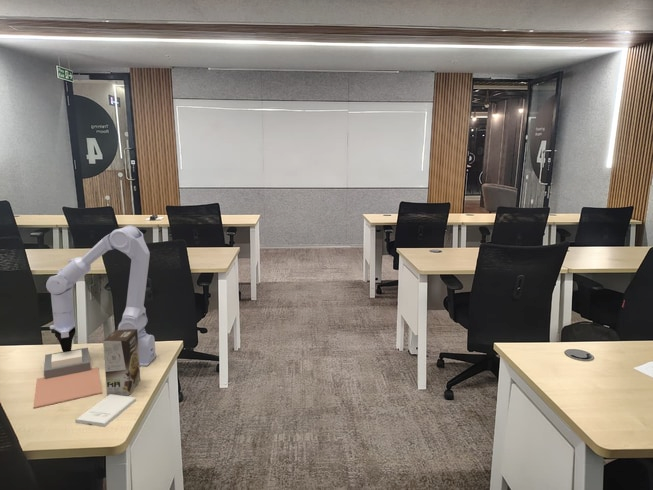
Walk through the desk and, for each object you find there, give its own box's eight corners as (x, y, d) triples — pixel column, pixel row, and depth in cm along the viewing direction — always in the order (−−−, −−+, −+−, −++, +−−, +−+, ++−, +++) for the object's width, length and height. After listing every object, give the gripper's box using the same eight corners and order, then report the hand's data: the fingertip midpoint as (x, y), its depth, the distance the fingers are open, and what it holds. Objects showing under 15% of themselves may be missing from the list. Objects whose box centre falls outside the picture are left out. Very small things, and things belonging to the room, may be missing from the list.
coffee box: (130, 395, 120) (126, 340, 118) (106, 396, 120) (101, 340, 117) (141, 380, 129) (138, 328, 127) (119, 380, 129) (115, 328, 126)
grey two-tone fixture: (46, 363, 139) (45, 354, 139) (88, 355, 145) (88, 347, 145) (44, 380, 128) (43, 370, 128) (90, 371, 134) (90, 362, 134)
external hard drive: (136, 402, 118) (104, 428, 106) (109, 399, 120) (75, 424, 108) (135, 397, 118) (104, 422, 106) (109, 393, 119) (74, 418, 107)
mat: (36, 379, 129) (36, 378, 128) (97, 368, 137) (97, 366, 137) (33, 408, 113) (33, 407, 113) (102, 393, 121) (102, 392, 121)
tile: (52, 360, 135) (51, 354, 134) (81, 355, 139) (81, 349, 138) (51, 368, 130) (51, 361, 129) (82, 362, 134) (82, 356, 133)
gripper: (49, 306, 141) (52, 346, 144) (47, 320, 129) (51, 362, 131) (74, 303, 145) (77, 342, 147) (74, 316, 133) (78, 358, 135)
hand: (67, 351), depth 140 cm, fingers closed
